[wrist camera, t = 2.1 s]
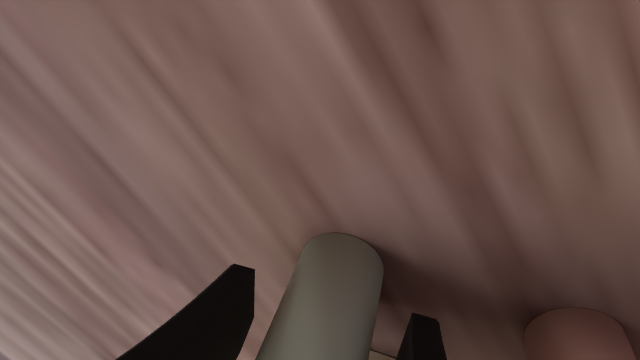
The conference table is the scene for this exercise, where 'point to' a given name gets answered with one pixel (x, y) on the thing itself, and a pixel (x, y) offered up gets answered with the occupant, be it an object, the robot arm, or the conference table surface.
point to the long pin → (328, 303)
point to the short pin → (576, 336)
